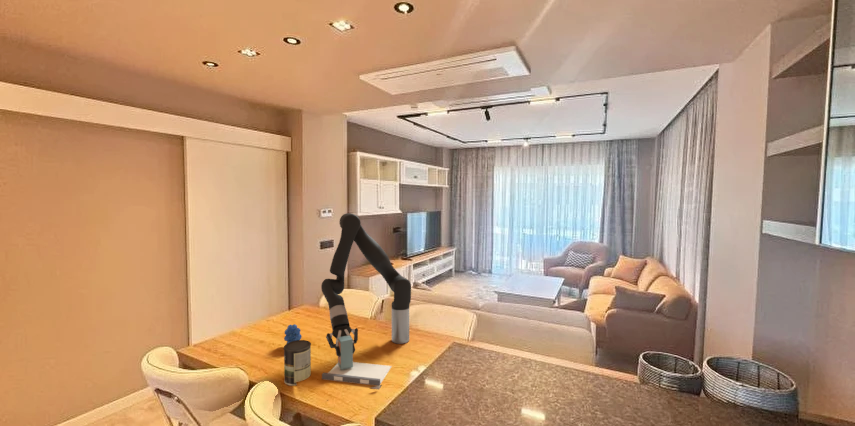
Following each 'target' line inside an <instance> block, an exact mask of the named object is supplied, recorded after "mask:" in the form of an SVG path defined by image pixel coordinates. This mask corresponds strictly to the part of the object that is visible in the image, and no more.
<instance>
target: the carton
mask: <svg viewBox="0 0 855 426" xmlns="http://www.w3.org/2000/svg"><path fill="white" fill-rule="evenodd" d="M350 335H351V334H350ZM350 335H349V336H342V337H339V338H338V340H339V341H338V342H339V348H340V353H341V356H340V357H338V356H337V363H338V365H339V367H340V369H341V370H343V369H347V368H351V367H353V362H354V354H353V340H354V338H351V337H352V335H351V336H350Z"/></svg>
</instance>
